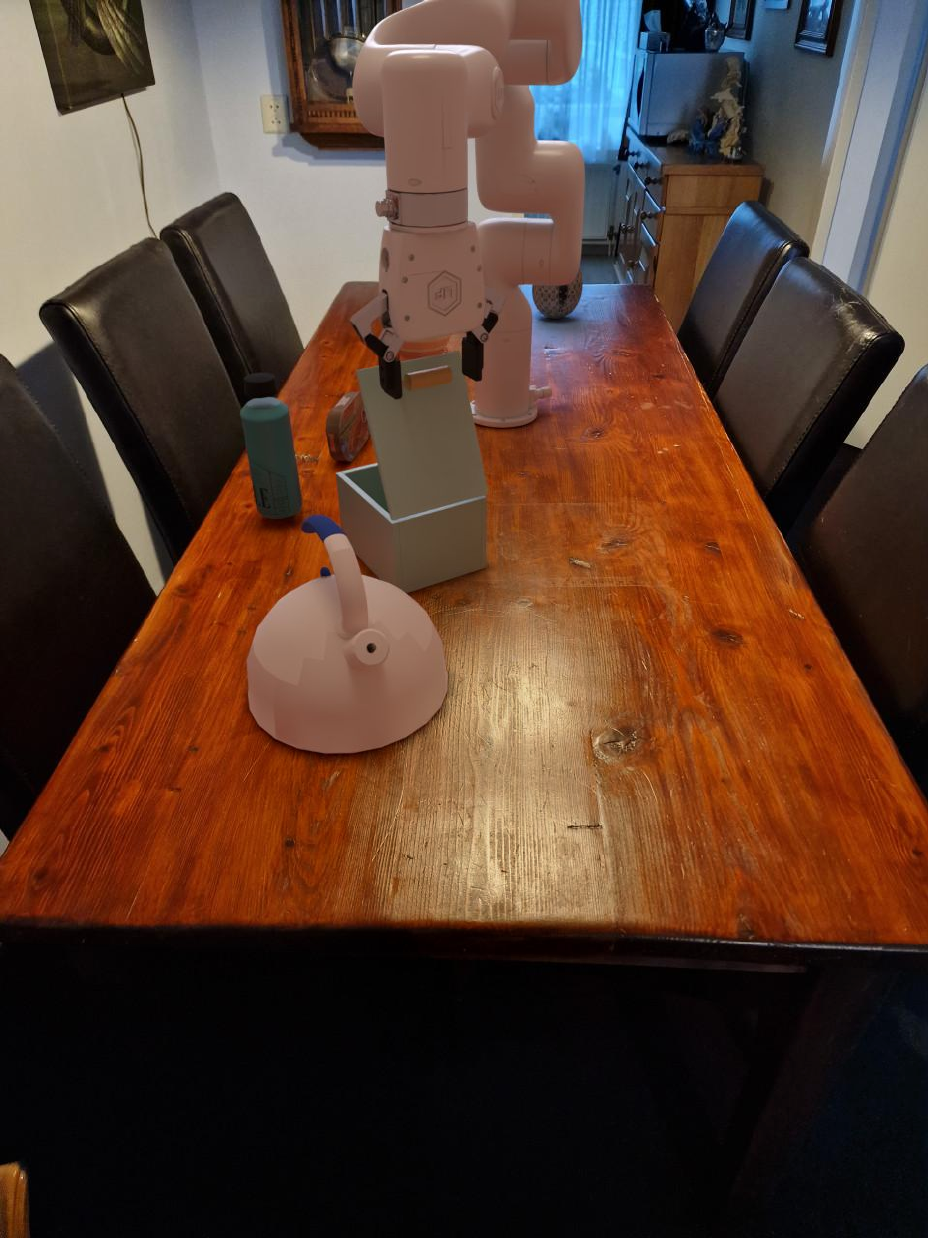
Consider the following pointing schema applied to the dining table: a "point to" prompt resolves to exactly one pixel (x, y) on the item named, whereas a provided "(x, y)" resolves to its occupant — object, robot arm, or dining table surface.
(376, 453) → the lid
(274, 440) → the beverage bottle
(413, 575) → the chest
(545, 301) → the decorative egg
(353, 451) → the tin
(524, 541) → the dining table surface
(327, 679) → the kettle
